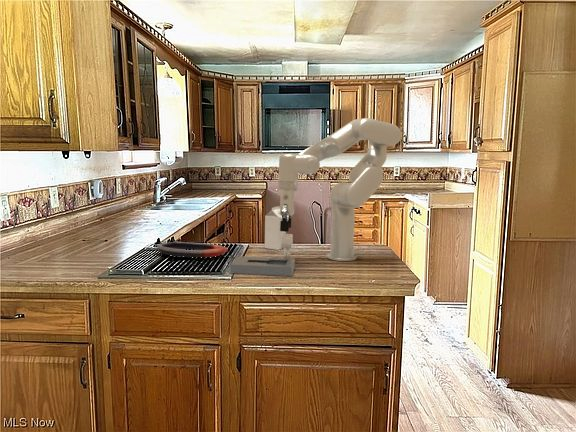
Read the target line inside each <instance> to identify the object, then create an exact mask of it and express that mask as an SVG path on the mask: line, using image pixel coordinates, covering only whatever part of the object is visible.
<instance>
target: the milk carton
mask: <svg viewBox="0 0 576 432" xmlns="http://www.w3.org/2000/svg"><path fill="white" fill-rule="evenodd" d="M280 222H281V215H280V205H278V206H274V207H271V210H269V212H267V214H265V215H264V249H269V250H274V251H275V250H276V251H280V250H282V249H283V248H281V242H282V234H287V232H284V231H280Z"/></svg>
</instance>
